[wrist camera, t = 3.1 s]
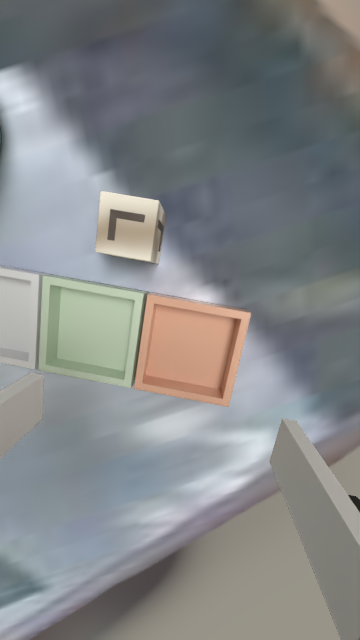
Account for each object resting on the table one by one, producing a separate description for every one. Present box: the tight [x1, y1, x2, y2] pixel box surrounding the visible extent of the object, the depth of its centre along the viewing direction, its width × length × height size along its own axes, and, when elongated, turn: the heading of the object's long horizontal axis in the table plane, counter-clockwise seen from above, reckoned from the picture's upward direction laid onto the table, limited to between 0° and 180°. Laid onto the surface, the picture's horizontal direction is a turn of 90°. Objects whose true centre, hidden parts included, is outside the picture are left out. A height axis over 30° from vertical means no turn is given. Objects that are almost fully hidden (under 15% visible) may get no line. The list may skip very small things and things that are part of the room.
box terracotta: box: [134, 293, 251, 407], centre depth 25 cm, size 11×11×2 cm
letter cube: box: [95, 191, 166, 264], centre depth 22 cm, size 5×5×5 cm
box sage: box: [38, 275, 148, 388], centre depth 25 cm, size 11×11×2 cm
